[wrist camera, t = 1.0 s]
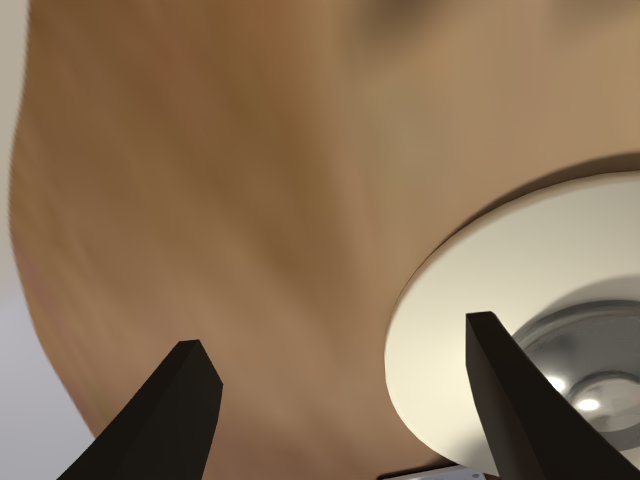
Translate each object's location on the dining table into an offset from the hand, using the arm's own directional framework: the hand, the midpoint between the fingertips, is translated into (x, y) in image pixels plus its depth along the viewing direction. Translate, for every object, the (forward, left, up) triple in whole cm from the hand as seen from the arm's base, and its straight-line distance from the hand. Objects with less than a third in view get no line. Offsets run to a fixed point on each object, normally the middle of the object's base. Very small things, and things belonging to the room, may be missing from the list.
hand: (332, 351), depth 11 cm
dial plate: (-14, -8, -10) cm, 19 cm away
